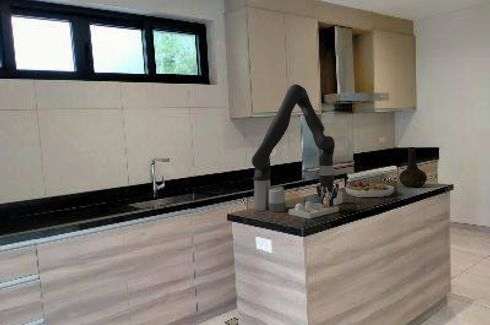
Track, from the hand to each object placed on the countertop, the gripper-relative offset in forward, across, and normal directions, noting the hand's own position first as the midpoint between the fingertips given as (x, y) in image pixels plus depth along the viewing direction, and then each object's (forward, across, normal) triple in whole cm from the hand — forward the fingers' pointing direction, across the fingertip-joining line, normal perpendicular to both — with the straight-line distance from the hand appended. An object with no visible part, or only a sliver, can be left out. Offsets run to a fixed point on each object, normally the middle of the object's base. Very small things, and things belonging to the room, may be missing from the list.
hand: (327, 205), depth 205 cm
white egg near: (+3, +7, +14) cm, 16 cm away
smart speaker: (+4, +22, +16) cm, 28 cm away
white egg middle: (+3, +7, +7) cm, 10 cm away
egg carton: (+4, +4, +7) cm, 9 cm away
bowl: (+4, +16, -58) cm, 60 cm away
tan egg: (+1, 0, 0) cm, 1 cm away
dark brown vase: (+4, +10, -100) cm, 101 cm away
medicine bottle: (+4, +14, -21) cm, 25 cm away
